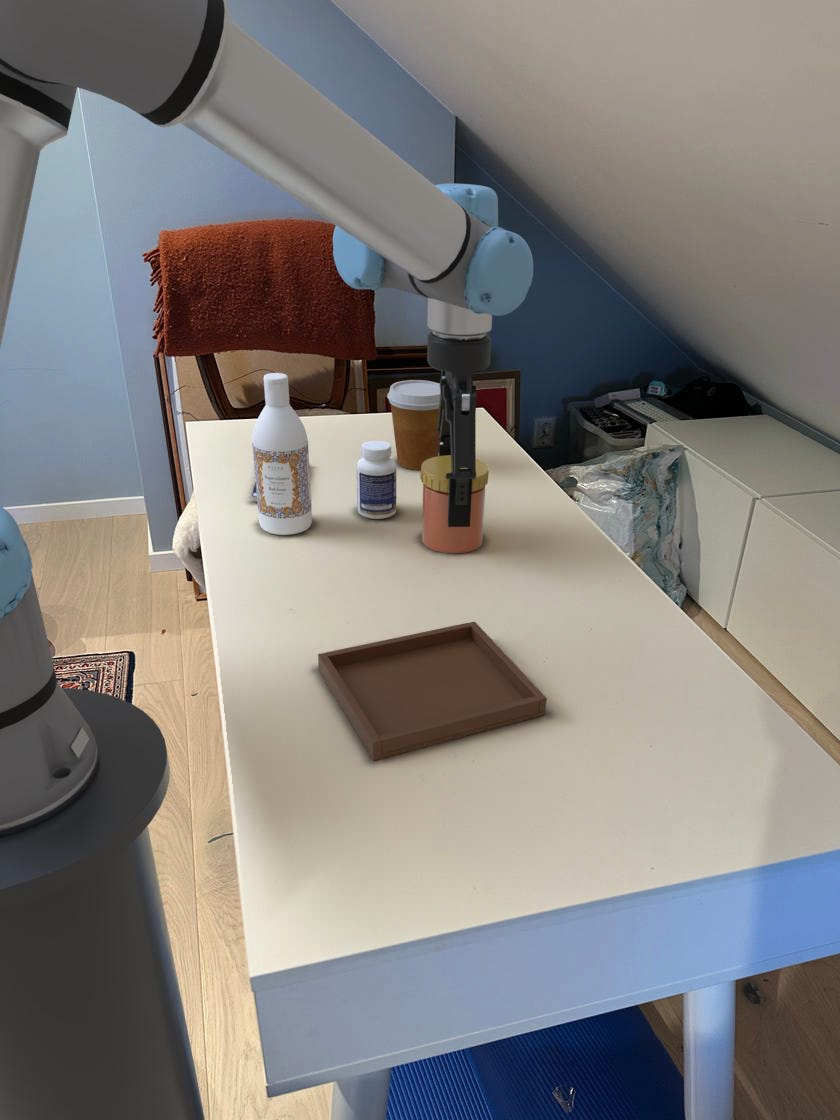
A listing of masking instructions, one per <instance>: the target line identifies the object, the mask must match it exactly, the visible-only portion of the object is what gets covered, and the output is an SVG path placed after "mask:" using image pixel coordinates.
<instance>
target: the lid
mask: <svg viewBox="0 0 840 1120" xmlns="http://www.w3.org/2000/svg"><path fill="white" fill-rule="evenodd" d="M460 469H468V468H460ZM451 472H452V469H451V455H446V456H439V455H438V456H437V457H433V458H430V459H427V460H425V461H424V462H423V463H422V465H421V470H420V476H419V477H420V478H419V479H420V480H421V483H422V485H423V484H424V485H426V486H427V487H429V488H431V489H434V490H438V491H442V492H449V479H446V474H447V473H451ZM488 483H489V467H488V465H487V463H485V462H484V461H482V460H480V459H478V458H476V478H475V479H472V491H476V490H479V489H482V488H483V487H485V488H486V486H487V485H488Z"/></svg>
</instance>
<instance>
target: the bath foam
mask: <svg viewBox="0 0 840 1120" xmlns="http://www.w3.org/2000/svg"><path fill="white" fill-rule="evenodd" d="M263 387H264V401H265V405H264V407H263V409H262V411H260V414H259V416H258V418H257V419H256V420H255V424H254V427H253V431H252V437H251V438H252V439H251V440H252V442H251V445H252V453H253V454H252V455H253V456H252V457H253V467H254V468H253V469H254V476H255V477H254V479H255V480H256V491H257V511H258V522H259V526H260V528H261V529H262V530H263V531H264V532H267V533H269V534H272V535H273V534H274V535H280V536H290V535H297V534H300V533H303V532H305V531H306V530H308V529H309V528H310V527H311V526H312V524H313V513H312V511H313V509H312V507H313V506H312V492H311V491H312V490H311V472H310V470H311V469H310V455H309V454H310V453H309V452H310V451H309V440H308V439H309V438H308V435H307V431H306V427H305V425H304V423H303V421H302V420H301V418H300V416H298V414H297V413H296V411H295V410H294V409H293V407H292V406H291V404H290V389H289V377H288V374H285V373H282V372H271V373H269V372H268V373H266V374H264V375H263ZM255 480H254V481H255Z"/></svg>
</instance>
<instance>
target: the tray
mask: <svg viewBox="0 0 840 1120" xmlns="http://www.w3.org/2000/svg"><path fill="white" fill-rule="evenodd" d="M317 660H318V663H317V664H318V671H319V673H320V675H321V676H322V678H323V680H324V682H325V683H326V685H327V686H328V688H329V690H330V691H331V693H332V694H333V696H334V697H335V700H336V701H337V703H338V705H339V706H340V708H341V710H342V711H343V713H344V715H345V716H346V717H347V719H348V721H349V722H350V724H351V726H352V727H353V729H354V731H355V732H356V734H357V736H358V737H359V739H360V741H361V742H362V745H364V747H365V749H366V750H367V753H368V754H369V756H370V757H371V759H372V760H373V761H378V760H381V759H384V758H389V757H393V756H395V755H401V754H403V753H407V752H412V751H415V750H419V749H422V748H426V747H430V746H434V745H438V744H441V743H445V742H449V741H453V740H456V739H460V738H463V737H468V736H472V735H475V734H479V733H483V732H487V731H490V730H493V729H498V728H501V727H504V726H509V725H512V724H517V723H520V722H524V721H527V720H531V719H535V718H539V717H542V716H545V715H546V709H547V701H548V700H547V699H548V698H547V697H546V696H545V695H544V694H543V692H541V690H540V689H539V688H538V687H537V686H536V685H535V684H534V683H533V682H532V681H531V680H530V679H529V677H527V676H526V674H525V673H524V672H523V671H522V670H521V669H520V668H519V666H517V665H516V664H515V663H514V661H513V660H512V659H511V658H510V657H509V656H508V655H507V654H506V653H505V652H504V650H502V649H501V648H500V647H499V646H498V644H497V643H496V642H495V641H494V640H493V639H492V638H491V637H490V636H489V635H488V634H487V633H486V631H484V630H483V629H482V627H481V626H480V625H479V624H478V623H477V622H476V621H470V622H465V623H464V622H463V623H460V624H456V625H455V624H454V625H450V626H445V627H441V628H436V629H431V630H426V631H422V632H416V633H413V634H408V635H402V636H398V637H393V638H387V639H383V640H378V641H374V642H369V643H364V644H359V645H355V646H351V647H345V648H340V649H335V650H331V651H327V652H321V653H318V654H317Z"/></svg>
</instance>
